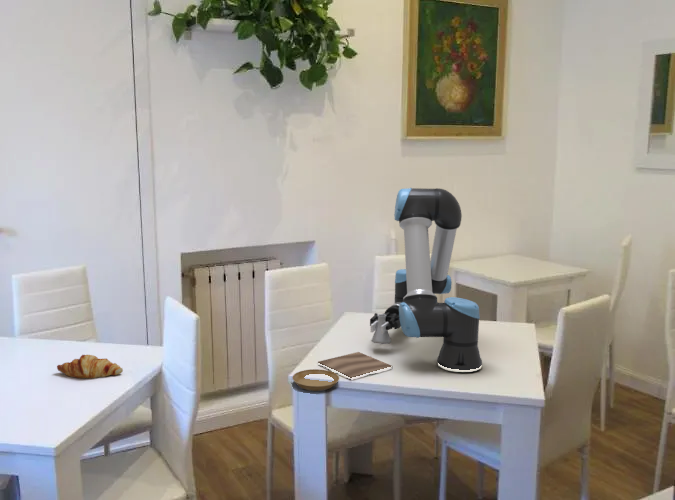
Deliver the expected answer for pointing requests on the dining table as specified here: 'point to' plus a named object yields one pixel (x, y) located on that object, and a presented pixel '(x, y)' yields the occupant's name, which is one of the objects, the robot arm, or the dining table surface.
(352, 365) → the walnut board
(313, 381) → the plant saucer
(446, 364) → the robot arm
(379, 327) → the flask
